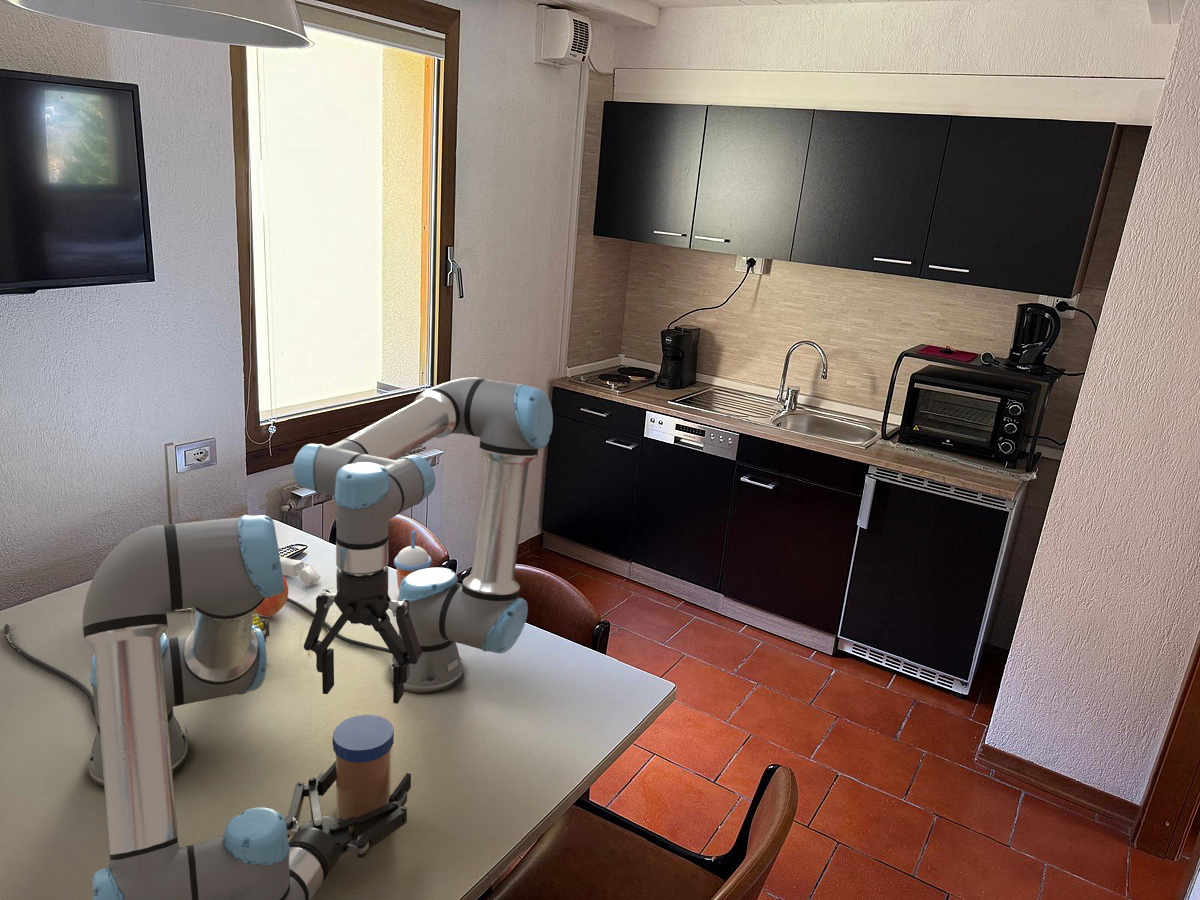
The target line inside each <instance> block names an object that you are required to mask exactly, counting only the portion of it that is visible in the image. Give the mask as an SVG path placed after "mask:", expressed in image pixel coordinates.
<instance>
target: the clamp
mask: <svg viewBox="0 0 1200 900" xmlns="http://www.w3.org/2000/svg"><path fill="white" fill-rule="evenodd" d="M278 549H279V550H280V549H281V547H279V546H278ZM280 562H281V568H282V575H283V576H288V577H292V578H296V577H298V578H299V579H300V580H301V582H303V584H304V585H305V587H309V586H312V585H314V584H316V583H318V582H319V580H320V579H321V578H322V577H321V575H320V574H319V573H318V572H317V570H315V569H314V568H313V566H312V565H310V564H309V565H308V564H307V563H305V562H304V561H303V560H301V559H300V560H299V559H292V558H289V557H285V556H280ZM305 566H306V567H305Z"/></svg>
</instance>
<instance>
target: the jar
mask: <svg viewBox="0 0 1200 900" xmlns="http://www.w3.org/2000/svg"><path fill="white" fill-rule="evenodd" d="M335 761H336V780H335V787H336V789H335V792H336V793H335V794H336V795H335V796H336V818H341V819H345V820H346V819H348V818H351V817H353V816H354V817H356V818H357V817H359V816H361V815H364V814H366V813H368V812H370V811H373V810H375V809H377V808H380V807H382V806H384V805H386V804H389V797H390V796H391V795H392V748H391V749H390V750H389V752H388V753H387V754H385V755H384V756H382V757H380V758H378V759H376V760H373V761H369V762H349V761H346V760H343V759H341V758H340V757H338V756H337V755H336V754H335ZM350 832H351V826H350V827H349V833H350ZM361 835H363V834H361Z"/></svg>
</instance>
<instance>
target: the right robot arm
mask: <svg viewBox="0 0 1200 900" xmlns="http://www.w3.org/2000/svg"><path fill="white" fill-rule="evenodd" d="M553 416H554V414H553V408H552V404H551V401H550V399H549V397H548V395H547V394H546V392H545V391H544V390H542V389H540V388H537V387H534V386H530V385H526V384H523V383H522V384H520V383H515V382H508V381H507V382H506V381H498V380H492V379H488V378H487V379H486V378H481V377H463V378H458V379H453V380H450V381H447V382H443V383H441V384H438V385H435V386H433V387H430V388H428V389H425V391H424V390H423V392H420V393H419V394H418V395H417V396H416V397H415V399H414V401H413V402H412V403H410V404H409V405H407V406H405V407H402V408H401V409H399V410H397V411H395V412H393V413H391V414H390V415H388V416H386V417H383V418H382V419H380V420H378V421H376V422H374V423H372V424H370V425H369V426H366V427H365V428H363V429H361V430H359V431H357V432H355V433H353V434H351V435H349V436H348V437H345V438H344V439H342V440H340V441H338V442H335V443H333V444H331V445H325V444H323V443H318V444H317V443H308V444H305V445H304V446H302V447H301V448H300V450H299V451H298V452H297V453H296V455H295V458H294V460H293V464H292V470H293V478H294V480H295V483H297V485H298V486H299V487H301V488H303V489H306V490H310V491H314V492H315V493H316V494H325V495H329V496H333V499H334V502H335V503H334V505H335V506H334V507H335V525H336V534H335V565H336V567H337V568H336V593H333V592H331V591H330V590H329V589H326V588H325V589H323V590H322V591H321V592H320V593H319V594H318V595H317V596H316V597H315V607H316V609H315V612H313V611H312V610H311V609H309V608H308V607H306V606H304V604H302V603H300V602H298V601H296V600H294V599H292V598H290V597H288V598H287V601H286V603H289V604H290V605H294V606H295V607H296V608H299V609H300V610H302V611H303V612H304V613H306V614H307V615H308V616H311V617H312V620H311V623H310V627H309V630H308V631H307V635H306V638H305V641H304V644H303V649H304V650H305V651H309V652H310V651H311V652H314V654H315V655H316V659H315V661H316V662H315V663H316V671H317V673H321V682H322V683H321V684H322V686H321V687H322V695H328V694H329V693H330V692H331V690H332V689H333V687H334V686H335V651H334V650H335V649H334V648H330V647H329V646H331V644H332V643H333V641H334V640H335V639H336V638H337V639H338V640H340V641H342V642H345V643H347V644H350V645H354V646H357V647H358V646H359V647H363V648H367V649H370V650H375V651H379V652H384V653H387V654H391V655H392V659H391V660H390V665H389V679H390V681H391V682H392V704H396V705H399V703H400V702H401V699H402V698H403V696H404V691H407V692H410V693H416V694H430V693H431V694H432V693H438V692H441V691H445V690H447V689H450V688H451V687H453V686H455V685H456V684H457V683H458V682H459V681H460V680H461V679H462V676H463V672H464V664H463V660H462V657H461V656H460V653H459V649H458V646H457V644H459V645H460V644H461V645H464V646H467V647H471V648H474V649H478V650H481V651H482V652H491V653H495V654H505V653H506V652H509V651H510V649H512V648H513V647H514V645H515V644H516V643H517V641H518V640H519V638H520V636H521V634H522V632H523V630H524V628H525V624H526V623H527V622H526V621H527V618H528V612H529V606H528V602H527V600H526V599H524V598H523V597H520V591H521V585H520V584H519V583H518V582H517V580H516V579H515V571H516V564H517V556H518V549H519V541H520V534H521V527H522V526H521V525H522V519H523V518H522V517H523V511H524V502H525V495H526V487H527V479H528V472H529V466H530V465H529V464H530V463H531V461H533V460H534V459H536V458H537V457H538V454H539V450H541V449H543V448H545V447H546V446H547V445H548V444H549V442H550V436H551V435H552V432H553V427H554V426H553V425H554V417H553ZM451 434H458V435H460V434H461V435H467V436H471V437H476V438H479V447H478V449H479V450H480V452H481V453H482V454H483V456H484V458H485V461H484V469H483V477H482V484H481V485H482V487H481V493H480V501H479V502H480V503H479V510H478V517H477V524H476V525H477V526H476V532H475V533H476V534H475V542H474V550H473V558H472V566H471V573H470V574H468V575H467V576H466V577H465V578H464V579H463V580H462V583H460V582H458V580H459V579H458V575H457V573H456V572H455V571H454V570H453V569H450V568H446V567H429V568H426V569H422V570H418V571H415V572H413V573H411V574H409V575H407V576H406V577H405V578H404V579H403V580H402V582H401V584H400V591H399V590H398V598H397V600H392V599H391V597H390V595H389V566H388V564H389V529H390V528H389V525H390V520H391V519H393V518H395V517H396V516H397V515H399V514H402V513H403V512H404V511H407V510H408V509H411V508H413V507H414V506H417V505H419V504H421V503H422V501H424V500H425V499H427V498H428V497H429V496H430V495H431V494H432V493H433V491H434V489H435V486H436V474H435V470H434V468H433V467H432V465H431V464H430V462H429V461H427V459H425V458H423V457H422V456H418V455H415V454H413V455H408V454H409V453H411V452H412V451H414V450H416V449H417V448H419V447H420V446H422V445H423V444H425V443H428V442H429V441H431V440H432V439H434V438H436V439H441V438H442V439H443V438H445V437H448V436H450V435H451ZM406 455H407V456H406ZM333 604H335V605H336V607H337V608H338V610H339V611H340V612H341V614H340V615H339V617H338V618H337V620H336V621H335V622H334V624H333V625H332V626H331V624H329V623H328V622H327V621H326V618H327V615H328V613H329V610H330V608H331V607H332V605H333ZM388 610H390V611H391V613H392V616H393V617H395V622H396V626H397V629H398V631H397V630H396V628H395V627H394V625H393V623H392V622H391V618H390V615H389V613H388V612H387V611H388ZM348 621H349V622H350V624H352V625H353V624H354V625H359V624H361V625H364V626H369V627H372V628H373V630H374V631H375V632H377V633H378V634H379V636H380V637H381V639H382V641H383V642H384V644H385V646H386V647H384V646H379V645H375V644H370V643H366V642H364V641H358V640H354V639H351V638H348V637H346V636H344V635H342V634H341V633H340V632H341V630H342V629H343V628H344V626H345V625H346V624H347V622H348ZM323 627H324V628H325V629H327V630H328V632H327V634H326V635H325V636H324V637H323V639H322V640H319V638H320V635H321V633H322V629H323Z"/></svg>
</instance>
